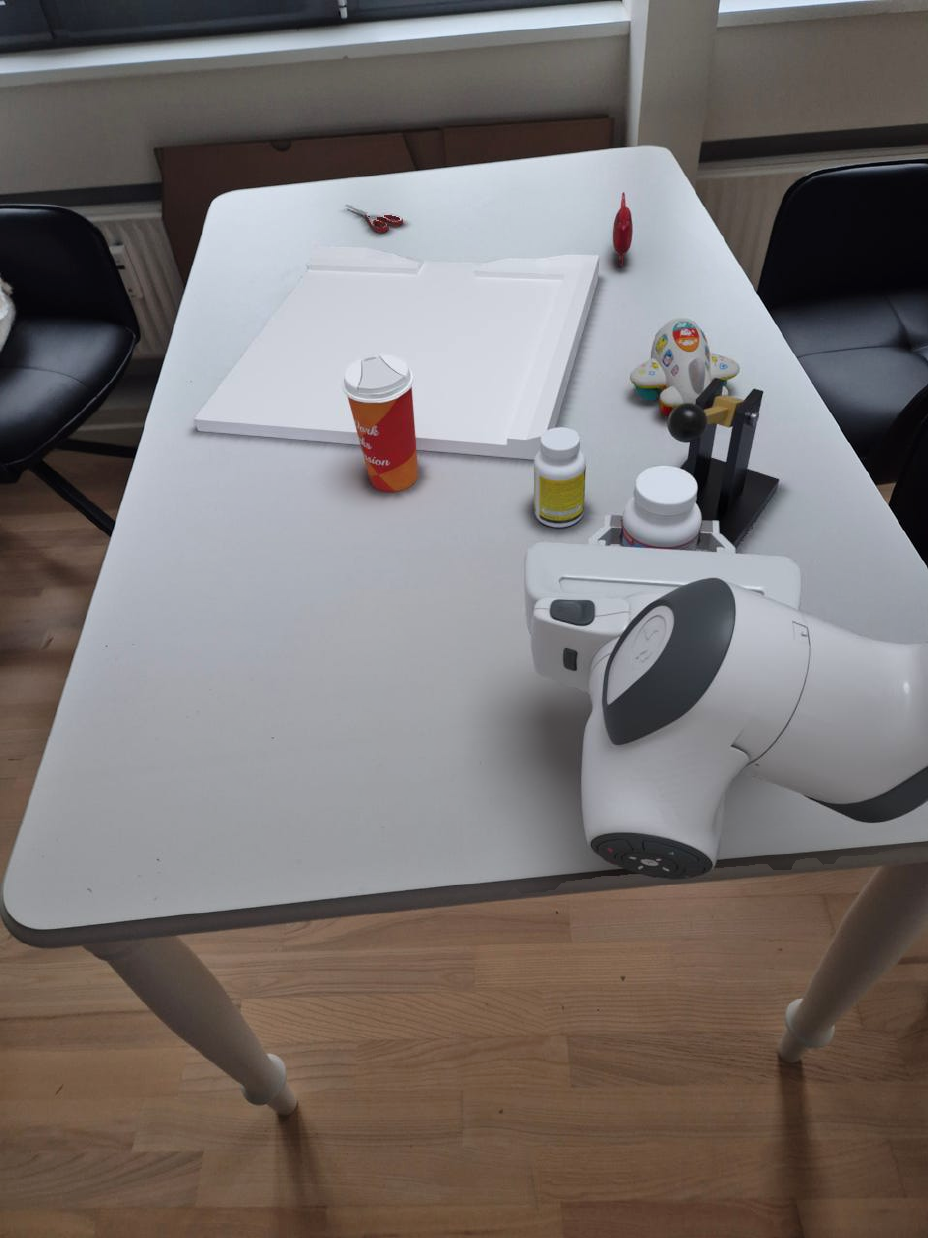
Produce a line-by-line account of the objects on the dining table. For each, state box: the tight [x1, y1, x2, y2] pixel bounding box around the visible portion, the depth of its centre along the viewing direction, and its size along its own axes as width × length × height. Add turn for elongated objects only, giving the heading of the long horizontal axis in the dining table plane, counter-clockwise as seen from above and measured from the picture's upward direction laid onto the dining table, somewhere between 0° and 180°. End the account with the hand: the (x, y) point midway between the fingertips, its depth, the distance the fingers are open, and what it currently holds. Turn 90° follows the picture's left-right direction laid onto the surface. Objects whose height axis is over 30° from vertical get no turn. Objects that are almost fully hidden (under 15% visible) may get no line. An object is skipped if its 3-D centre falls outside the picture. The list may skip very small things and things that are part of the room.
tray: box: [193, 245, 600, 461], centre depth 119 cm, size 45×45×4 cm
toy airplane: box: [629, 317, 741, 416], centre depth 105 cm, size 13×9×15 cm
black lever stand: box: [679, 378, 780, 549], centre depth 88 cm, size 12×10×14 cm
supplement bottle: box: [533, 426, 587, 528], centre depth 91 cm, size 5×5×10 cm
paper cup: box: [342, 355, 419, 493], centre depth 96 cm, size 8×8×14 cm
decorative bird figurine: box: [612, 191, 634, 267], centre depth 131 cm, size 3×18×10 cm, turn 173°
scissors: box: [345, 204, 404, 233], centre depth 151 cm, size 5×14×1 cm, turn 41°
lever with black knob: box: [667, 395, 745, 444], centre depth 80 cm, size 14×3×3 cm, turn 145°
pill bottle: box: [619, 465, 701, 551], centre depth 69 cm, size 6×6×11 cm
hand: (659, 523), depth 69 cm, fingers closed on pill bottle, 6 cm apart
